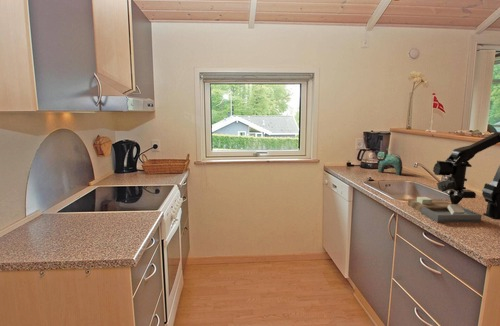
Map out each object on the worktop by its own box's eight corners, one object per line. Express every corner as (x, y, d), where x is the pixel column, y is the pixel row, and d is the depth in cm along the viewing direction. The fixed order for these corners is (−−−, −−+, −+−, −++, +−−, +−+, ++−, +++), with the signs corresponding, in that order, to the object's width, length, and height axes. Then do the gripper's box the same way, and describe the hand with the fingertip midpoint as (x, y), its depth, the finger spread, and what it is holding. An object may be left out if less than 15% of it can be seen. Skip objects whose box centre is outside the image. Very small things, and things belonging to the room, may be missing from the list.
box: (480, 222, 142) (481, 215, 142) (437, 222, 142) (438, 215, 141) (460, 213, 155) (461, 206, 155) (421, 213, 154) (421, 206, 154)
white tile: (463, 215, 147) (465, 212, 146) (452, 215, 147) (453, 211, 146) (458, 207, 151) (460, 204, 150) (447, 207, 151) (449, 204, 150)
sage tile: (431, 204, 160) (432, 199, 159) (422, 204, 160) (422, 199, 159) (426, 201, 165) (426, 196, 164) (416, 201, 165) (417, 196, 164)
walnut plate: (458, 213, 155) (459, 207, 155) (422, 213, 155) (423, 207, 154) (440, 204, 169) (441, 199, 168) (407, 205, 168) (408, 199, 168)
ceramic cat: (375, 172, 261) (377, 148, 257) (379, 171, 265) (381, 147, 262) (399, 175, 246) (401, 150, 242) (403, 174, 250) (405, 149, 247)
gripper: (429, 171, 158) (425, 201, 160) (454, 179, 139) (449, 213, 142) (451, 171, 158) (447, 201, 161) (479, 180, 139) (474, 213, 142)
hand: (453, 207), depth 151 cm, fingers closed
